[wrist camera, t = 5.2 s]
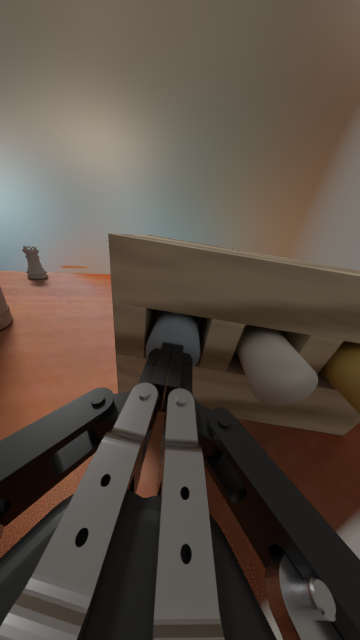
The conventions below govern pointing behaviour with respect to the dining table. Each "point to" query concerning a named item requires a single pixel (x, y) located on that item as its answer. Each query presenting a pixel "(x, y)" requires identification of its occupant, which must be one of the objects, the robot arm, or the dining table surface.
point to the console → (235, 320)
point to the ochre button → (345, 372)
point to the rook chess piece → (34, 264)
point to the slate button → (176, 333)
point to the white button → (274, 367)
